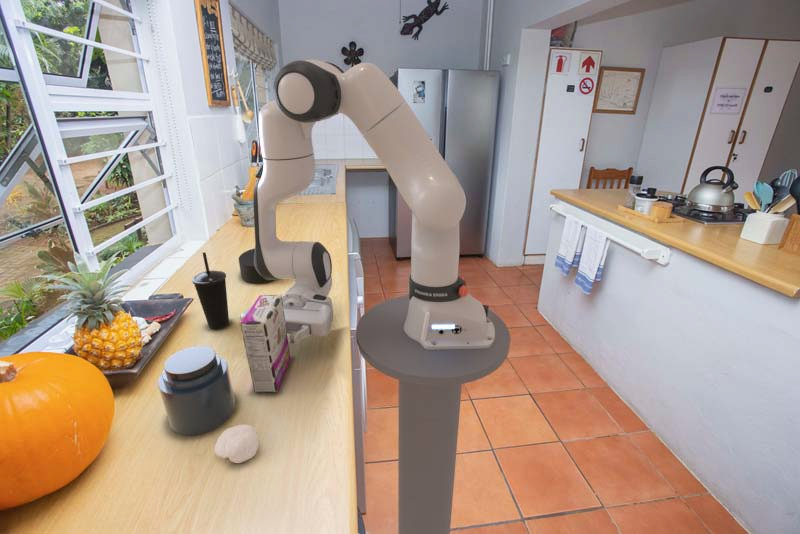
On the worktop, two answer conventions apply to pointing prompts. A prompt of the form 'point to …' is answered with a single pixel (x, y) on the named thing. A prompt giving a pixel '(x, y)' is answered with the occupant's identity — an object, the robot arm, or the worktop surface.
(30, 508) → the worktop surface
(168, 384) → the jar
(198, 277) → the drinking cup
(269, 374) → the candy bar box
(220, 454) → the dumpling
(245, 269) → the black round tin
